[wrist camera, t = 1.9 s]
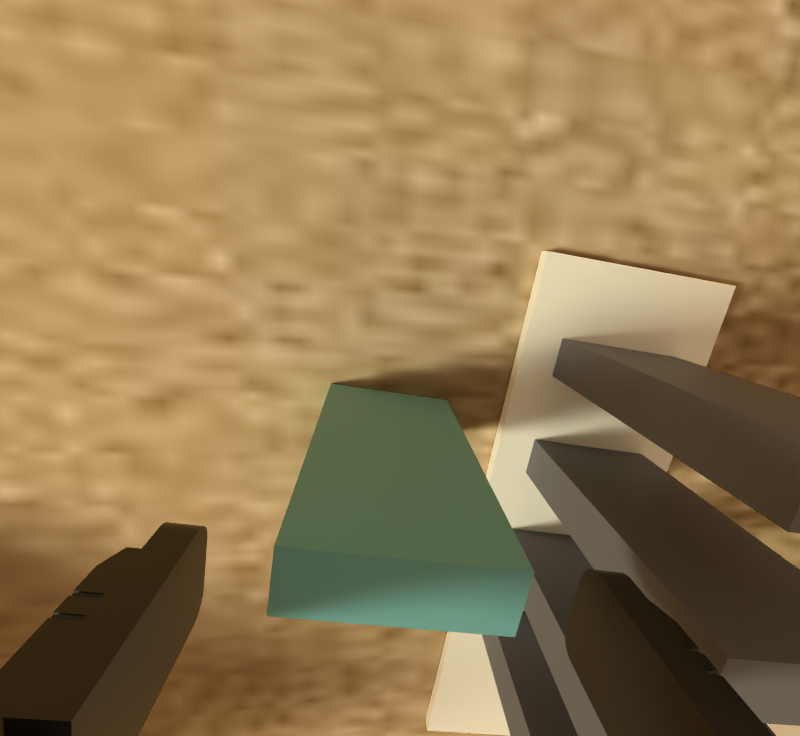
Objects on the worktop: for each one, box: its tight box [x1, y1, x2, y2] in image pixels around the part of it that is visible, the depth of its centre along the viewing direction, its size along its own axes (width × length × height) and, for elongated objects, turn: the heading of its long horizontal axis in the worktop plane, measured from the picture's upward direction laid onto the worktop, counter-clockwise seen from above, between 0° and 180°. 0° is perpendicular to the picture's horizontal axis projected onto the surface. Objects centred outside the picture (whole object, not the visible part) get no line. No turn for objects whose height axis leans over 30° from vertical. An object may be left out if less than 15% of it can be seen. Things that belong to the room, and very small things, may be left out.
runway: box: [426, 251, 736, 735], centre depth 19 cm, size 25×8×1 cm, turn 170°
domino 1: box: [267, 383, 535, 637], centre depth 13 cm, size 2×5×10 cm, turn 80°
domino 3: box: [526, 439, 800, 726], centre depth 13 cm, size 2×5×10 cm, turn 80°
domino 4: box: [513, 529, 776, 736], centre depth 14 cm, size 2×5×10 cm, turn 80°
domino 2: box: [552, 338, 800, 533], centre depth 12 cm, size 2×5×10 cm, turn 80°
